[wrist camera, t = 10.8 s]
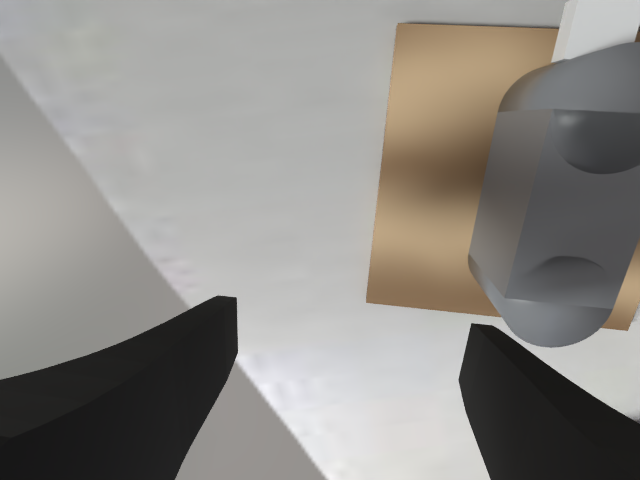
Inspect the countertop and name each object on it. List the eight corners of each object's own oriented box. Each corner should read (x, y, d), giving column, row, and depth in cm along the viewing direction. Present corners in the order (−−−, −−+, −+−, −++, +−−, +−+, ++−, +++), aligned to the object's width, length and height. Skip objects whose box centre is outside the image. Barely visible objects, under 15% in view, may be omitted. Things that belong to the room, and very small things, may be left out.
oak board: (620, 324, 19) (627, 330, 19) (366, 297, 21) (366, 302, 20) (731, 38, 15) (746, 35, 14) (396, 26, 16) (397, 23, 16)
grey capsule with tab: (538, 294, 19) (596, 352, 14) (461, 287, 19) (493, 341, 14) (617, 20, 15) (738, -28, 10) (517, 17, 15) (587, -31, 10)
